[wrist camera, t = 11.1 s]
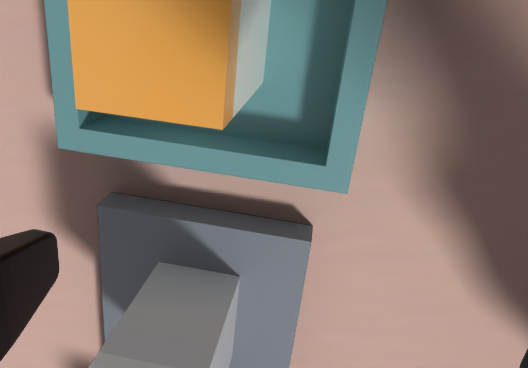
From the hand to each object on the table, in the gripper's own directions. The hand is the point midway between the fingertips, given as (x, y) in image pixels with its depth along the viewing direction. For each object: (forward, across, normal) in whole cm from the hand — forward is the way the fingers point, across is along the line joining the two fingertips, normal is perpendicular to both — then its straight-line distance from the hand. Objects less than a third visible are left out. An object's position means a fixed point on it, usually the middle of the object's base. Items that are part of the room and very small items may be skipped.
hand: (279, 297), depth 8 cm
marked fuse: (+11, +4, -4) cm, 12 cm away
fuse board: (+12, +4, +17) cm, 21 cm away
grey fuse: (+10, +4, +10) cm, 15 cm away
